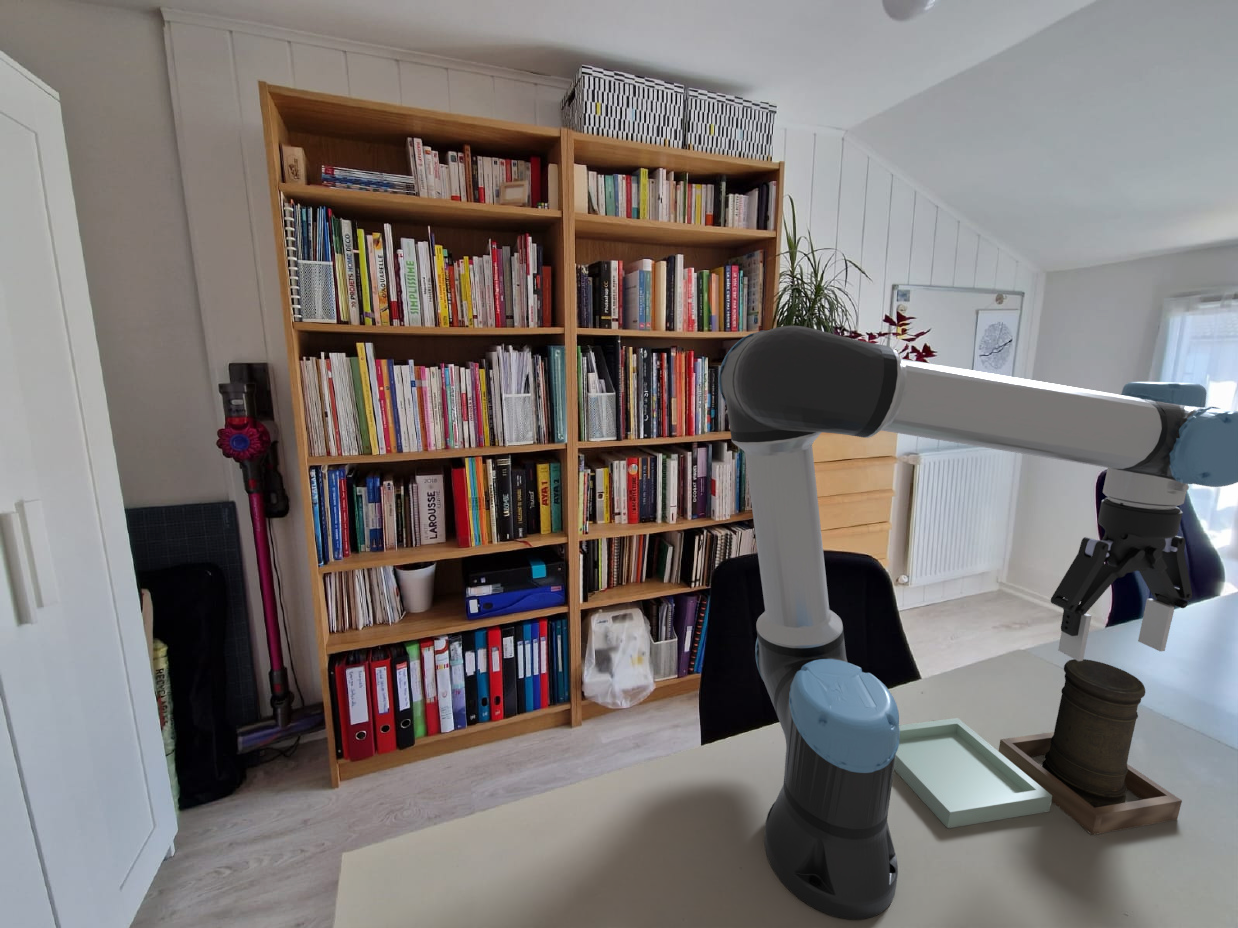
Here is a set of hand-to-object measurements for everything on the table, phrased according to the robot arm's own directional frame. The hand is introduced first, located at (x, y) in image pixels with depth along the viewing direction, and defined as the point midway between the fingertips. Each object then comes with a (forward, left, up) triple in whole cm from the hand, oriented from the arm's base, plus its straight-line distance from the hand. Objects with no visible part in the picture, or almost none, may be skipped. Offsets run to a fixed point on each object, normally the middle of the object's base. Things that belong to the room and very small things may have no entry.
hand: (1111, 651), depth 72 cm
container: (0, 0, -22) cm, 22 cm away
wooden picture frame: (0, 0, -22) cm, 22 cm away
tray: (-17, +5, -22) cm, 28 cm away
